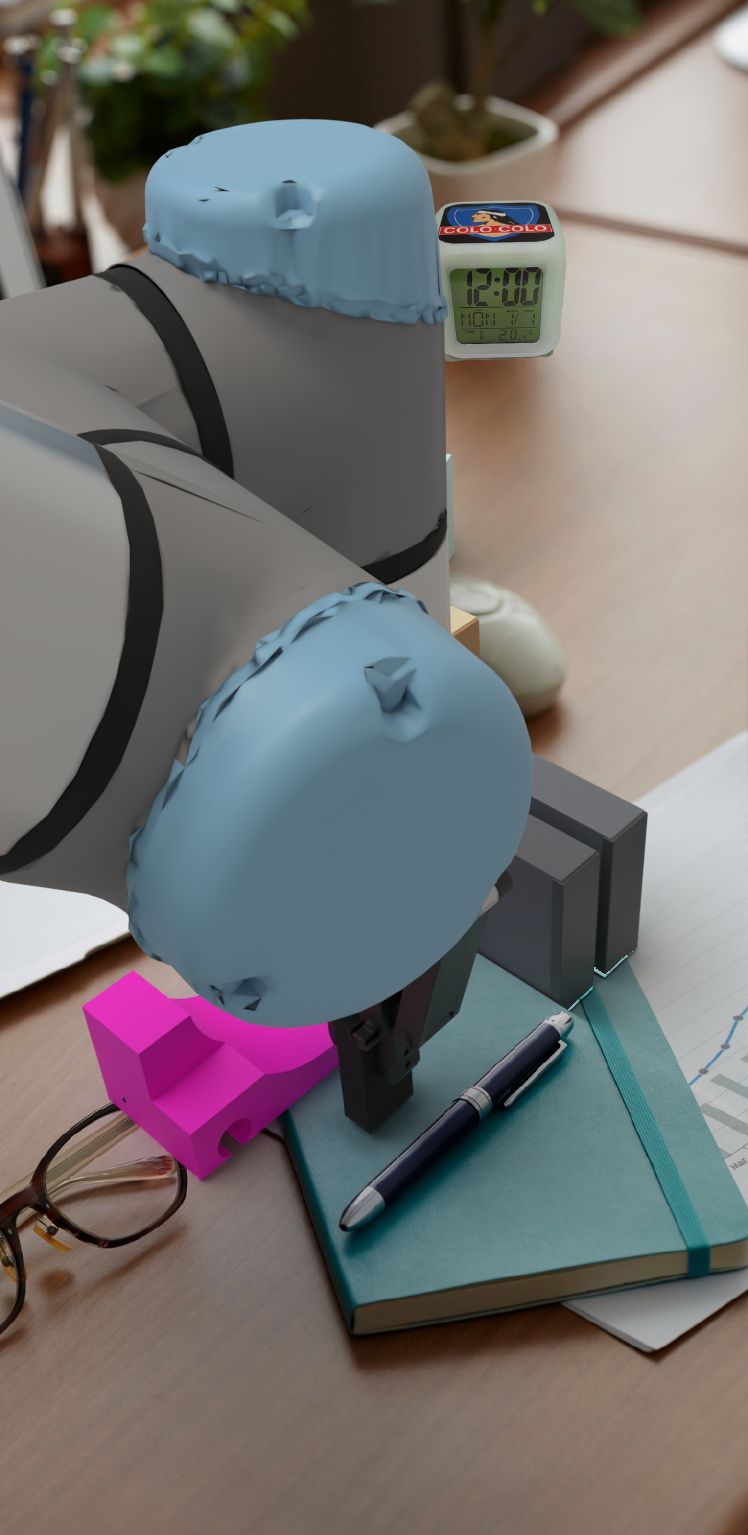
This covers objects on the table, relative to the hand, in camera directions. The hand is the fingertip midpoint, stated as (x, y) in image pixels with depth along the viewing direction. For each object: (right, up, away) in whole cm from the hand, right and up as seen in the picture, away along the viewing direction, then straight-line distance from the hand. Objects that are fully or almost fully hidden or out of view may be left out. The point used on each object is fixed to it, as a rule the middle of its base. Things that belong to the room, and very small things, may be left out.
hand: (379, 1104), depth 60 cm
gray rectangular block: (+6, +5, +8) cm, 11 cm away
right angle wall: (-2, +27, +36) cm, 45 cm away
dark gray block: (+9, +7, +10) cm, 15 cm away
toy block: (-4, +1, +5) cm, 7 cm away
